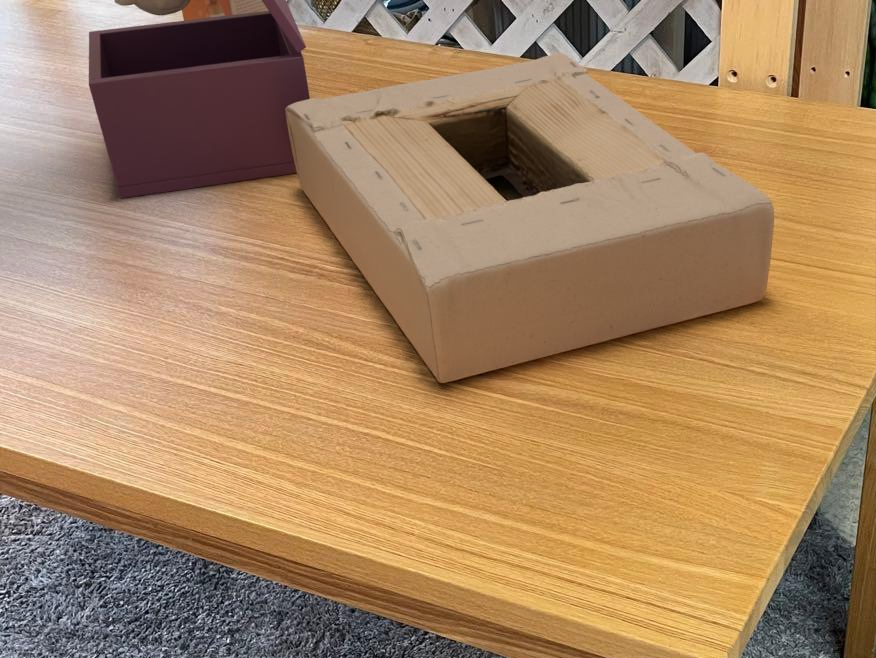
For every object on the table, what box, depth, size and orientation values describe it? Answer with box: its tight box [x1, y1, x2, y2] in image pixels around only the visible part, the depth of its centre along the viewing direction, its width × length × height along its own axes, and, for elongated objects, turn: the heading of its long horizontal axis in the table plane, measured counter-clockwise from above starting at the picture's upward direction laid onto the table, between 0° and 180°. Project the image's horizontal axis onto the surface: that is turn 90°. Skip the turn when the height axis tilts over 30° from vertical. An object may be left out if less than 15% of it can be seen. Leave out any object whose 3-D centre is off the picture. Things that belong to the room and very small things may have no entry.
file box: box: [88, 11, 311, 199], centre depth 95 cm, size 16×13×9 cm
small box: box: [181, 0, 269, 21], centre depth 111 cm, size 8×6×10 cm
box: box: [285, 52, 775, 384], centre depth 82 cm, size 23×8×32 cm
